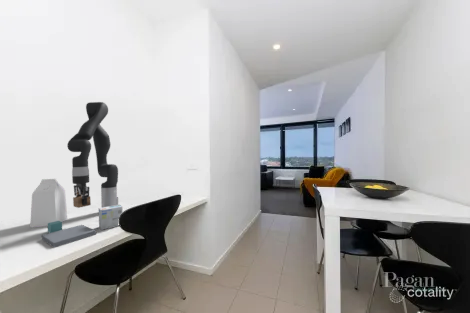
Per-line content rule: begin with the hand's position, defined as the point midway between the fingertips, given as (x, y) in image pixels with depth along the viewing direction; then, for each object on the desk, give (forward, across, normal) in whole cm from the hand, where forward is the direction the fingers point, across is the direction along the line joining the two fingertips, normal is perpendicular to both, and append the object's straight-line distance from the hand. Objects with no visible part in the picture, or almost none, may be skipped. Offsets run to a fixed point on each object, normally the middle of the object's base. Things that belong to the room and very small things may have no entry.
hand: (82, 203), depth 112 cm
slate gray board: (+12, -14, +11) cm, 21 cm away
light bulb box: (+12, -16, -7) cm, 21 cm away
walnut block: (+1, 0, 0) cm, 1 cm away
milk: (+12, +21, +8) cm, 26 cm away
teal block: (+12, +2, +12) cm, 17 cm away
